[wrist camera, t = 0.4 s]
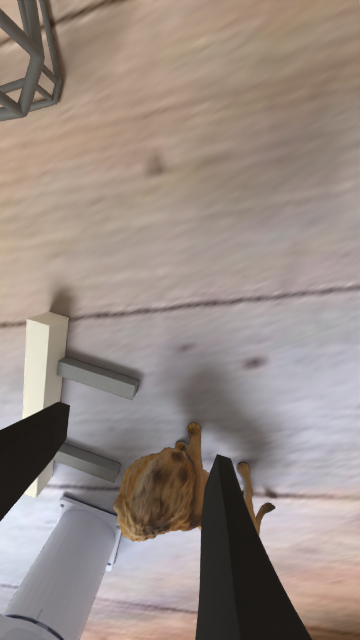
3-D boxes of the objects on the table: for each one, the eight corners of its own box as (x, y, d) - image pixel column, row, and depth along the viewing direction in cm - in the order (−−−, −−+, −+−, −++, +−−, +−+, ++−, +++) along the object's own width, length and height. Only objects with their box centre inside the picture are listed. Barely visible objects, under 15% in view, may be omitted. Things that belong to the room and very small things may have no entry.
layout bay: (112, 499, 26) (101, 523, 24) (36, 471, 27) (19, 491, 25) (147, 341, 20) (137, 353, 18) (48, 311, 21) (26, 318, 19)
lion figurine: (136, 433, 23) (87, 537, 15) (163, 397, 22) (126, 491, 13) (256, 514, 23) (277, 663, 15) (293, 484, 22) (340, 633, 13)
